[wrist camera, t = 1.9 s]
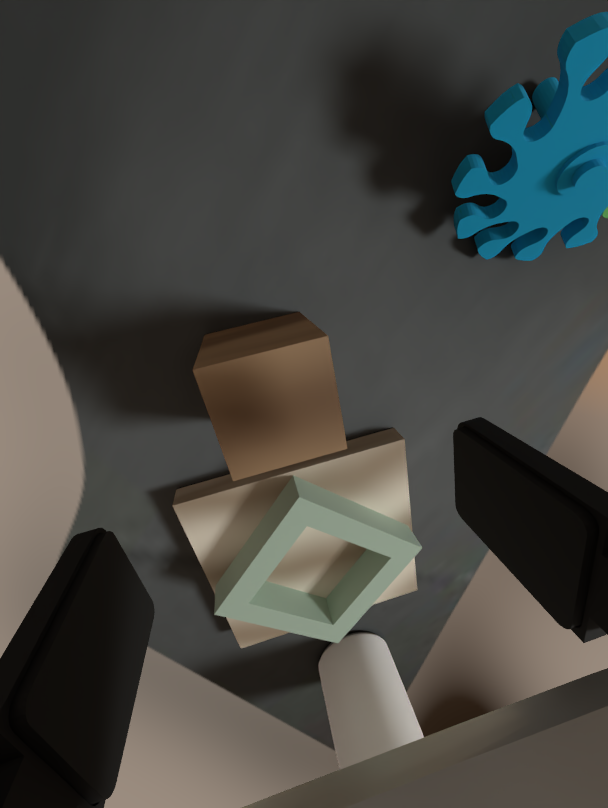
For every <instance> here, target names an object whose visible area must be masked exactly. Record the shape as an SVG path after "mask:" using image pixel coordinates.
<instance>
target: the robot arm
mask: <svg viewBox="0 0 608 808" xmlns="http://www.w3.org/2000/svg"><path fill="white" fill-rule="evenodd" d="M453 443H454V473H455V503H456V509H457V511H458V514H459V515H460V517H461V518H462V519H463V520H464V521H465V522H466V524H467V525H468V526H469V527H470V528H471V529H472V530H473V531H474V532H475V533H476V534H477V536H478V537H479V538H480V539H481V540H482V541H483V542H484V543H485V544H486V545H487V546H488V548H489V549H490V550H491V551H492V552H493V553H494V554H495V555H496V556H497V557H498V558H499V560H500V561H501V562H502V563H503V564H504V565H505V566H506V567H507V568H508V569H509V570H510V572H511V573H512V574H514V576H515V577H516V578H517V579H518V580H519V581H520V582H521V584H522V585H523V586H524V587H525V588H526V589H527V590H528V591H529V592H530V593H531V594H532V595H533V597H534V598H535V599H536V600H537V601H538V602H539V603H540V604H541V605H542V606H543V608H544V609H545V610H546V611H547V612H548V613H549V614H550V615H551V616H552V617H553V618H554V619H555V621H556V622H557V623H558V624H559V625H560V626H562V627H563V628H565V629H571V630H572V631H573V632H574V633H575V634H576V635H577V636H578V637H579V638H580V639H581V640H582V642H583V643H585V642H588V641H591V640H593V639H596V638H599V637H601V636H604V635H606V634H607V635H608V492H606V491H604V490H603V489H601V488H600V487H598V486H596V485H595V484H593V483H591V482H590V481H588V480H586V479H585V478H583V477H581V476H580V475H578V474H576V473H575V472H573V471H571V470H569V469H568V468H566V467H564V466H563V465H561V464H559V463H558V462H556V461H554V460H553V459H551V458H549V457H548V456H546V455H544V454H543V453H541V452H539V451H538V450H536V449H534V448H533V447H531V446H529V445H528V444H526V443H524V442H523V441H521V440H519V439H518V438H516V437H514V436H512V435H511V434H509V433H507V432H506V431H504V430H502V429H501V428H499V427H497V426H496V425H494V424H492V423H491V422H489V421H487V420H486V419H484V418H481V417H480V418H475V419H472V420H468V421H465V422H461V423H460V424H459V425H458V428H457V429H456V430H455V431H454V433H453ZM153 619H154V604H153V601H152V599H151V598H150V596H149V594H148V592H147V591H146V589H145V587H144V585H143V584H142V582H141V580H140V578H139V577H138V575H137V573H136V571H135V570H134V568H133V566H132V564H131V563H130V561H129V559H128V557H127V556H126V554H125V552H124V550H123V549H122V547H121V545H120V543H119V542H118V540H117V538H116V536H115V535H114V534H113V532H111V531H108V532H106V530H104V529H103V528H97V529H94V530H90V531H87V532H83V533H80V534H77V535H75V536H74V537H73V538H72V539H71V541H70V543H69V544H68V546H67V548H66V549H65V551H64V553H63V554H62V556H61V558H60V559H59V561H58V563H57V564H56V566H55V568H54V569H53V571H52V573H51V575H50V576H49V578H48V579H47V581H46V583H45V585H44V586H43V588H42V590H41V591H40V593H39V595H38V596H37V598H36V600H35V601H34V603H33V605H32V606H31V608H30V610H29V611H28V613H27V615H26V616H25V618H24V620H23V621H22V623H21V625H20V626H19V628H18V630H17V632H16V633H15V635H14V636H13V638H12V640H11V642H10V643H9V645H8V647H7V648H6V650H5V652H4V653H3V655H2V657H1V658H0V808H104V804H105V800H106V799H108V798H109V797H110V796H111V795H112V793H113V791H114V788H115V785H116V782H117V777H118V772H119V768H120V764H121V759H122V755H123V750H124V746H125V742H126V738H127V733H128V729H129V724H130V720H131V715H132V711H133V706H134V702H135V698H136V694H137V689H138V685H139V680H140V676H141V672H142V667H143V663H144V658H145V654H146V650H147V645H148V641H149V636H150V632H151V628H152V623H153ZM242 808H608V668H607V669H604V670H601V671H599V672H596V673H593V674H590V675H587V676H585V677H582V678H580V679H577V680H574V681H572V682H569V683H566V684H564V685H561V686H558V687H556V688H553V689H550V690H548V691H545V692H543V693H540V694H537V695H534V696H532V697H529V698H527V699H524V700H521V701H519V702H516V703H513V704H511V705H508V706H505V707H503V708H500V709H498V710H495V711H492V712H489V713H487V714H484V715H482V716H479V717H476V718H474V719H471V720H468V721H466V722H463V723H460V724H458V725H455V726H452V727H450V728H447V729H445V730H442V731H439V732H437V733H434V734H432V735H429V736H427V737H424V738H421V739H419V740H416V741H413V742H411V743H408V744H406V745H403V746H400V747H398V748H395V749H392V750H390V751H387V752H385V753H382V754H379V755H377V756H374V757H372V758H369V759H366V760H364V761H361V762H359V763H356V764H353V765H351V766H348V767H346V768H343V769H340V770H338V771H335V772H333V773H330V774H327V775H325V776H323V777H320V778H317V779H315V780H312V781H309V782H307V783H304V784H302V785H299V786H296V787H294V788H291V789H289V790H286V791H284V792H281V793H278V794H276V795H273V796H271V797H268V798H266V799H263V800H260V801H258V802H255V803H253V804H250V805H248V806H245V807H242Z"/></svg>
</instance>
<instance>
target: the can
mask: <svg viewBox="0 0 608 808" xmlns="http://www.w3.org/2000/svg"><path fill="white" fill-rule="evenodd" d="M318 667H319V674H320V679H321V684H322V689H323V694H324V698H325V703H326V708H327V713H328V718H329V723H330V727H331V732H332V737H333V742H334V747H335V751H336V756H337V761H338V765H339V770H340V769H343V768H346V767H348V766H351V765H353V764H356V763H359V762H361V761H364V760H366V759H369V758H372V757H374V756H377V755H379V754H382V753H385V752H387V751H390V750H392V749H395V748H398V747H400V746H403V745H406V744H408V743H411V742H413V741H416V740H419V739H421V738H424V736H423V734H422V731H421V728H420V726H419V723H418V721H417V718H416V716H415V713H414V711H413V708H412V706H411V704H410V701H409V699H408V696H407V693H406V691H405V688H404V686H403V683H402V681H401V678H400V676H399V673H398V671H397V668H396V666H395V663H394V661H393V659H392V656H391V654H390V651H389V649H388V646H387V644H386V642H385V641H384V640H383V639H382V638H381V637H379V636H377V635H376V634H374V633H371V632H354V633H350V634H347V635H345V636H344V637H343V638H342V640H341V641H340V642H339V643H334V642H332V643H330V644H329V645H328V646H327V648H326V649H325V650H324V652H323V654H322V656H321V658H320V661H319V665H318Z"/></svg>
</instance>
